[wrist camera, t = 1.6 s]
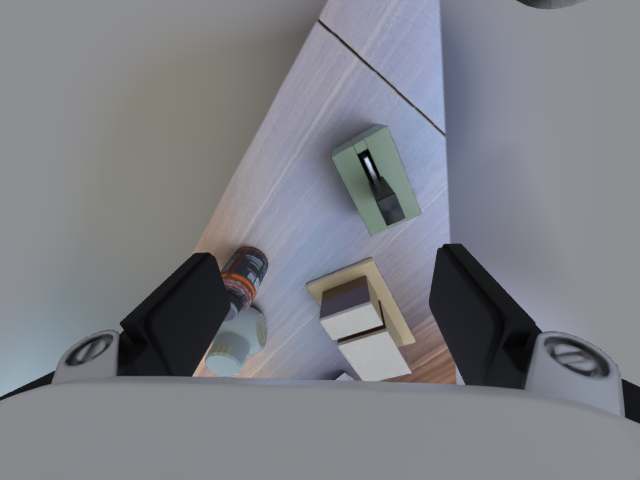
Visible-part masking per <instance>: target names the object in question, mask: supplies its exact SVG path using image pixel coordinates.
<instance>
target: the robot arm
mask: <svg viewBox="0 0 640 480" xmlns="http://www.w3.org/2000/svg"><path fill="white" fill-rule="evenodd" d="M429 306H430V309H431V312H432V314H433V316H434V318H435V320H436V322H437V325H438V327H439V329H440V331H441V333H442V335H443V338H444V340H445V342H446V344H447V346H448V348H449V350H450V353H451V355H452V357H453V359H454V361H455V363H456V366H457V368H458V370H459V372H460V374H461V376H462V378H463V381H464V383H465V385H452V384H431V383H404V382H373V381H342V380H306V379H269V378H228V377H192V375H193V374H194V372H195V370H196V368H197V367H198V365H199V363H200V361H201V360H202V358H203V356H204V355H205V353H206V351H207V349H208V348H209V346H210V344H211V342H212V341H213V339H214V337H215V335H216V334H217V332H218V330H219V328H220V327H221V325H222V323H223V321H224V320H225V318H226V316H227V314H228V313H229V311H230V308H231V302H230V299H229V296H228V293H227V290H226V287H225V284H224V281H223V278H222V275H221V272H220V269H219V266H218V264H217V261H216V258H215V257H214V256H212V255H211V254H210V253H209V252H207V253H195V254H193V255H192V256H191V257H190V258H189V259H188V260H187V261H186V262H185V263H183V264H182V265H181V266H180V267H179V268H178V269H177V270H176V271H175V272H174V273H173V274H172V275H171V276H170V277H168V278H167V279H166V280H165V281H164V282H163V283H162V284H161V285H160V286H159V287H158V288H157V289H156V290H154V291H153V292H152V293H151V294H150V295H149V296H148V297H147V298H146V299H145V300H144V301H143V302H142V303H141V304H140V305H139V306H137V307H136V308H135V309H134V310H133V311H132V312H131V313H130V314H129V315H128V316H127V317H126V318H124V319H123V320H122V321H121V322H120V325H121V326H122V328H123V329H124V331H123V332H122V333H121V334H119V333H118V332H117V331H115V330H105V331H100V332H97V333H95V334H92V335H90V336H88V337H86V338H84V339H82V340H81V341H79V342H78V343H76V344H75V345H73V346H72V347H71V348H70V349H69V350H67V351H66V353H65V354H64V355H63V356H62V357H61V359H60V361H59V363H58V365H57V368H56V371H53V372H52V373H49V374H47V375H45V376H43V377H41V378H39V379H37V380H35V381H33V382H31V383H29V384H26V385H24V386H22V387H20V388H18V389H16V390H14V391H12V392H10V393H8V394H6V395H4V396H2V397H0V480H640V387H639V386H637V385H634V384H632V383H630V382H628V381H626V380H624V379H621V373H620V370H619V368H618V366H617V364H616V363H615V362H614V361H613V360H612V359H611V357H610V356H608V355H607V354H606V353H604V352H603V351H602V350H601V349H599V348H597V347H596V346H595V345H593V344H591V343H589V342H588V341H585V340H583V339H581V338H579V337H577V336H574V335H570V334H567V333H563V332H556V331H548V332H542V331H541V330H540V329H539V328H538V327H537V326H536V325H535V322H534V321H533V319H532V318H531V317H530V316H528V314H527V313H526V312H525V311H524V310H523V309H522V308H521V307H520V306H519V305H518V304H517V303H516V301H515V300H514V299H513V298H512V297H511V296H510V295H509V294H508V293H507V292H506V291H505V290H504V289H503V288H502V287H501V286H500V284H499V283H498V282H496V280H495V279H494V278H493V277H492V276H491V275H490V274H489V273H488V272H487V271H486V270H485V269H484V268H483V266H482V265H481V264H480V263H479V262H478V261H477V260H476V259H475V258H474V257H473V256H472V255H471V254H470V253H469V252H468V251H467V249H466V248H465V247H464V246H463V245H462V244H444V245H443V246H442V248H438V250H437V255H436V261H435V267H434V273H433V279H432V285H431V291H430V297H429Z"/></svg>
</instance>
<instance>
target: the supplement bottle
mask: <svg viewBox="0 0 640 480" xmlns="http://www.w3.org/2000/svg"><path fill="white" fill-rule="evenodd" d="M267 268H268V261H267V259H266V257H265V255H264V254H263V253H262V252H260V251H259V250H257V249H255V248H250V247H244V248H241V249H239V250H237V251H236V252H235V253H234V254H233V256H232V257H231V258H230V260H229V261H228V262H227V264H226V265H225V266H224V268H223V269H222V270H221V275H222V278H223V281H224V284H225V287H226V290H227V293H228V296H229V299H230V302H231V308H230V311H229V313H228V314H227V316H226V318H225V320H224V321H223V322H230V321H233V320H235V319H236V317H237V316H238V314H239V312H242V311H244V310H246V309H247V308H248V307H249V306H250V305H251V303H252V301H253V299H254V297H255V295H256V293H257V291H258V288H259V286H260V284H261V282H262V280H263V278H264V275H265V273H266V271H267Z"/></svg>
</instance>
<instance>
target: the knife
mask: <svg viewBox="0 0 640 480" xmlns="http://www.w3.org/2000/svg"><path fill="white" fill-rule="evenodd" d="M360 154H361V156H362V158H363V160H364V163H365V165H366V167H367V169H368V171H369V174H370V176H371V178H372V180H373V181H371V182H369V183H368V185H369V187H370V190H371V192H372V194H373V197H374V199H375V202H376V204H377V206H378V208H379V210H380V212H381V215H382V217H383V219H384V221H385V223H386V225H387V226H389V225H391V224H394V223H396V222H398V221H400V220H403V219H405V215H404V212H403V210H402V208H401V205H400V203H399V200H398V198H397V196H396V193H395V192H394V191H393V189H392V188H391V186H390V185H389V184H388V182H387V181H386V179H385V178H384V177H383V176H381V177H379V178H377V177H376V175H375V173H374V170H373V168H372V166H371V164H370V161H369V159H368V157H367V155H366V154H365V152H364V151H363V152H361V153H360Z"/></svg>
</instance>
